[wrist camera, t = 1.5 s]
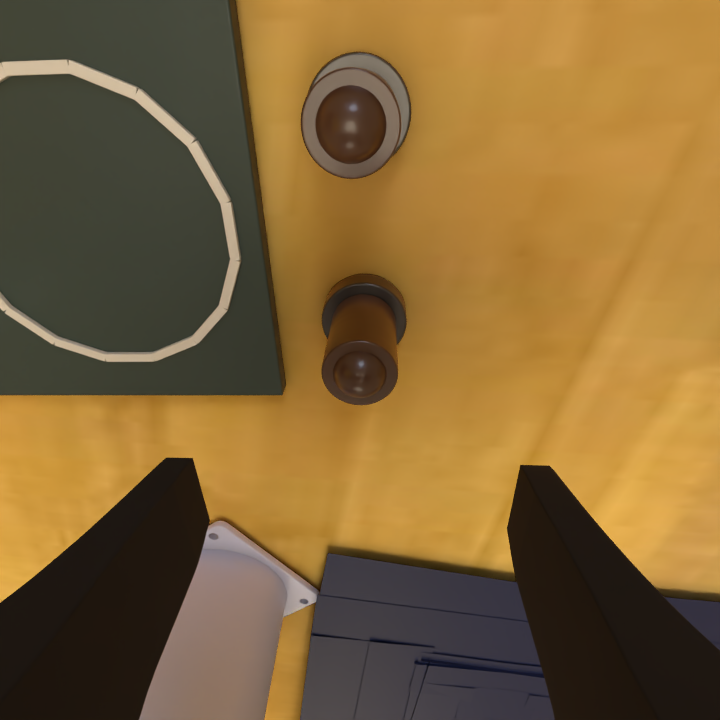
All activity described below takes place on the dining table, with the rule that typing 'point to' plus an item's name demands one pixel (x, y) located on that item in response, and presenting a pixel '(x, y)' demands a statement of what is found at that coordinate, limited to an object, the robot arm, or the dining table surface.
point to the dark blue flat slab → (431, 646)
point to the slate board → (131, 203)
